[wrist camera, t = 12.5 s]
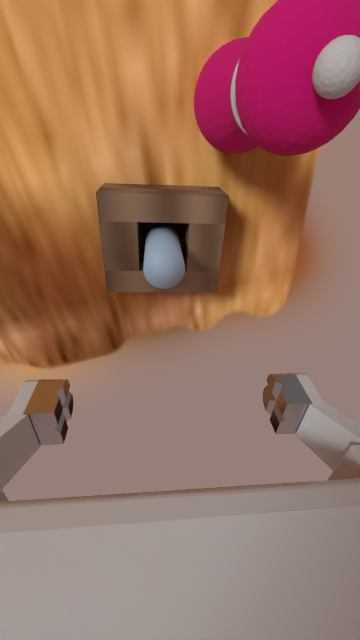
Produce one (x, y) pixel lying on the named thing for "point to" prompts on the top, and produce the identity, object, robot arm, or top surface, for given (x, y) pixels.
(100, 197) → the socket block
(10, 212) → the top surface
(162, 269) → the peg
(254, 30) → the pepper mill
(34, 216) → the top surface
